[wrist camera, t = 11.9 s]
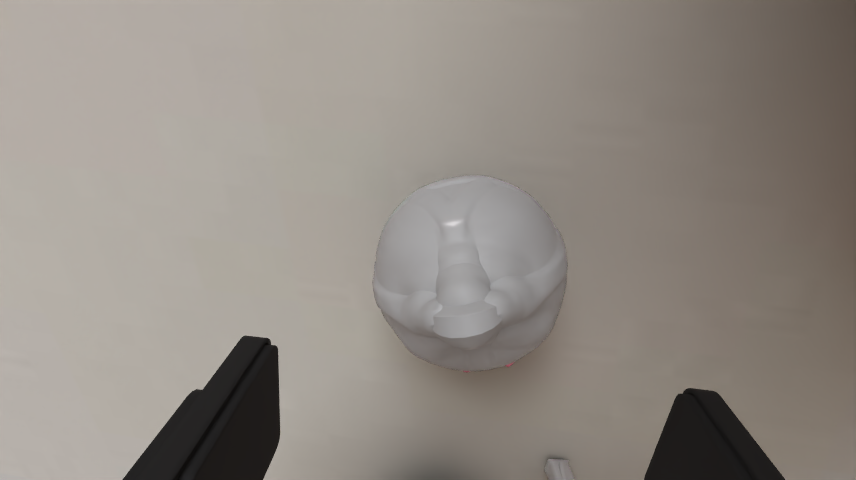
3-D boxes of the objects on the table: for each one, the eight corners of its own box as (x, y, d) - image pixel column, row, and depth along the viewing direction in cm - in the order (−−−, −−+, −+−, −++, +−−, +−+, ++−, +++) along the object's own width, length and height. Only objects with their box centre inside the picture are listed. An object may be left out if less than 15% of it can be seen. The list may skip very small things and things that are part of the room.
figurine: (409, 325, 20) (382, 485, 13) (368, 175, 18) (304, 269, 10) (559, 302, 19) (620, 460, 12) (539, 140, 17) (601, 217, 9)
